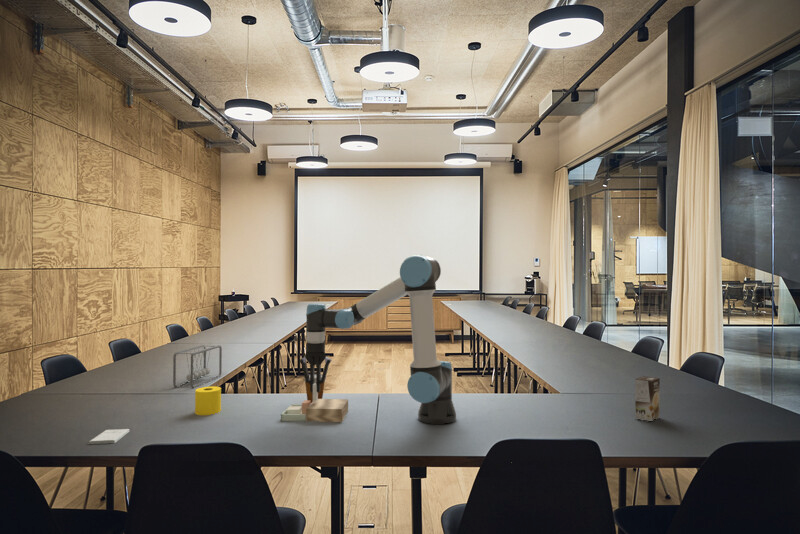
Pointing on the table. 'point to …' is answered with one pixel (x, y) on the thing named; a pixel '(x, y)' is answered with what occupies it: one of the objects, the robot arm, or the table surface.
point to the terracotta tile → (305, 406)
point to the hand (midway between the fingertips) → (315, 400)
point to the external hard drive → (109, 436)
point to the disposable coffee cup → (310, 394)
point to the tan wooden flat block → (327, 410)
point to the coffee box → (647, 398)
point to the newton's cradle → (197, 373)
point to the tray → (293, 415)
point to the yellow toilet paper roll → (207, 400)
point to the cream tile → (294, 410)
